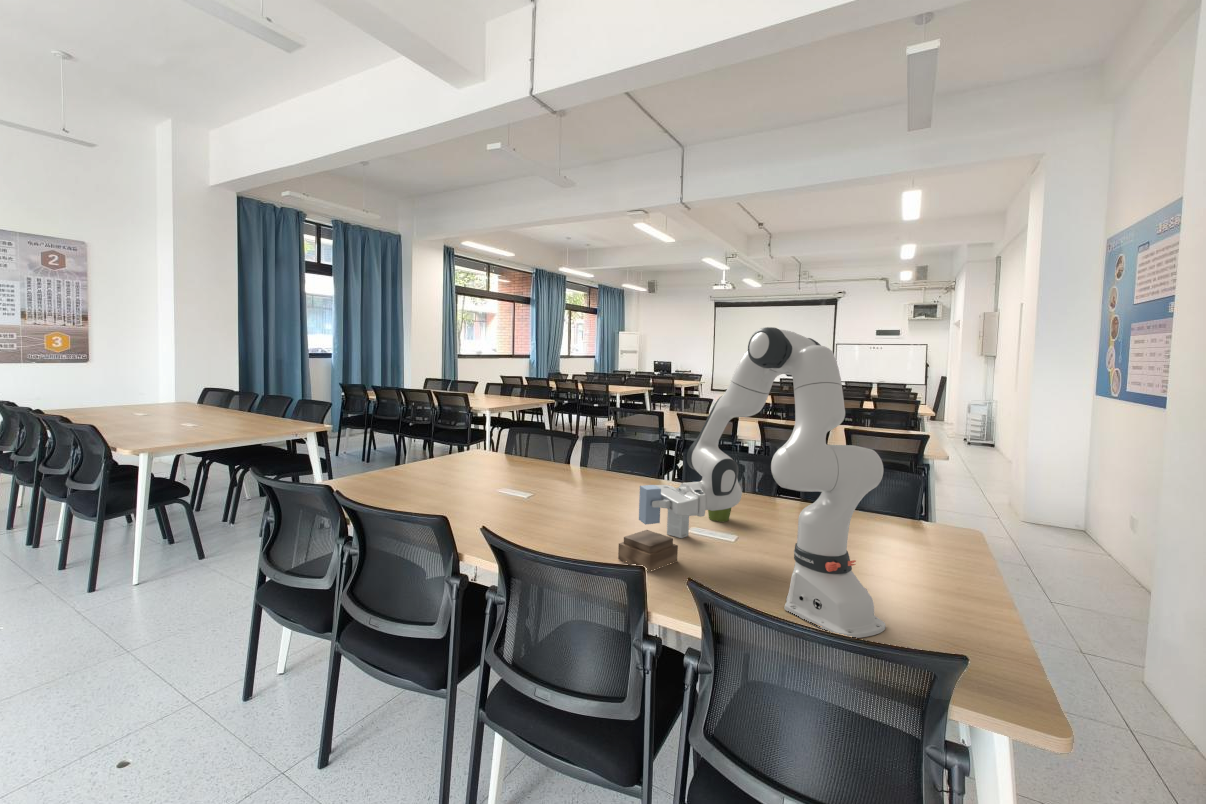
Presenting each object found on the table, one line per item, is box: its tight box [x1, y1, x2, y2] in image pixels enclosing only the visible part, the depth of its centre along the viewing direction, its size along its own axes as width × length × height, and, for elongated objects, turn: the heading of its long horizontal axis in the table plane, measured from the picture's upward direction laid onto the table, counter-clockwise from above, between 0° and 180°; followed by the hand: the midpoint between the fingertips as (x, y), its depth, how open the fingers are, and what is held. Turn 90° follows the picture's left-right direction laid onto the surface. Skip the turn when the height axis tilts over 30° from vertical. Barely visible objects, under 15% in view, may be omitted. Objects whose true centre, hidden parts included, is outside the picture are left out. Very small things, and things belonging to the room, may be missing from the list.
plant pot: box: [707, 507, 733, 523], centre depth 197 cm, size 12×12×11 cm
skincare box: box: [666, 509, 690, 539], centre depth 179 cm, size 6×4×12 cm
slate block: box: [638, 484, 661, 525], centre depth 156 cm, size 4×4×10 cm
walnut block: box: [617, 529, 679, 573], centre depth 157 cm, size 12×12×7 cm
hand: (646, 501), depth 155 cm, fingers closed on slate block, 4 cm apart
